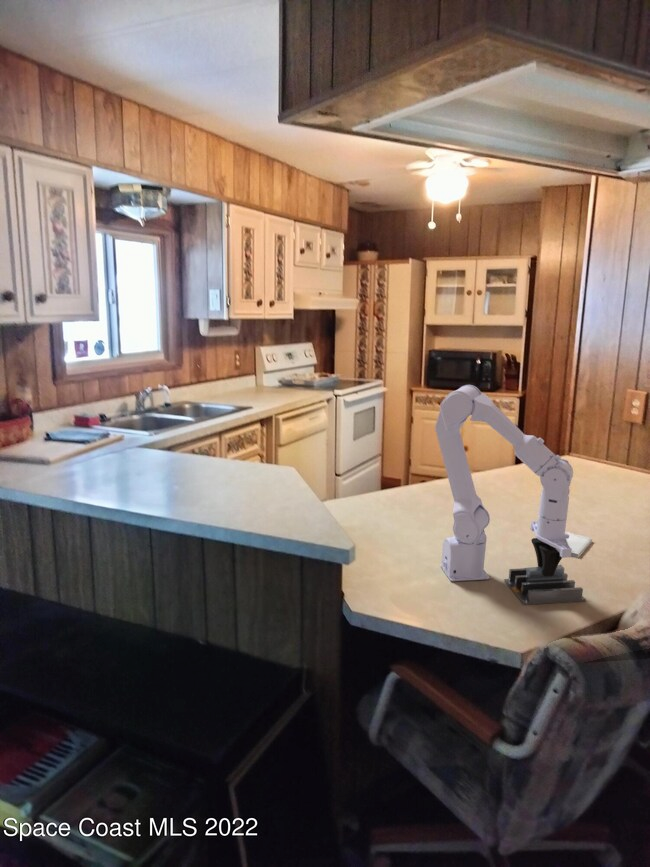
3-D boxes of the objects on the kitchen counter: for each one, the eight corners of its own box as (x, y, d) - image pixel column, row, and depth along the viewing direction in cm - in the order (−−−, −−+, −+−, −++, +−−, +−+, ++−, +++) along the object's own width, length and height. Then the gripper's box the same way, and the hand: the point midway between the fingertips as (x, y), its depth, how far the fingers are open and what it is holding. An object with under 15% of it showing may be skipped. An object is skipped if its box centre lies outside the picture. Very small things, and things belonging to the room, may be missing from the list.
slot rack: (524, 604, 130) (525, 592, 129) (504, 581, 140) (505, 569, 139) (585, 601, 132) (587, 588, 131) (561, 578, 142) (563, 566, 141)
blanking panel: (559, 583, 137) (560, 564, 135) (562, 586, 135) (564, 568, 134) (525, 586, 136) (526, 567, 134) (528, 589, 134) (529, 571, 133)
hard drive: (578, 554, 151) (592, 538, 161) (545, 545, 156) (561, 529, 166) (577, 560, 152) (591, 543, 161) (544, 551, 157) (560, 535, 166)
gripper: (588, 528, 125) (580, 588, 128) (553, 502, 138) (547, 557, 142) (555, 529, 124) (548, 590, 127) (524, 503, 138) (518, 558, 141)
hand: (545, 572), depth 134 cm, fingers closed on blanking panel, 2 cm apart
